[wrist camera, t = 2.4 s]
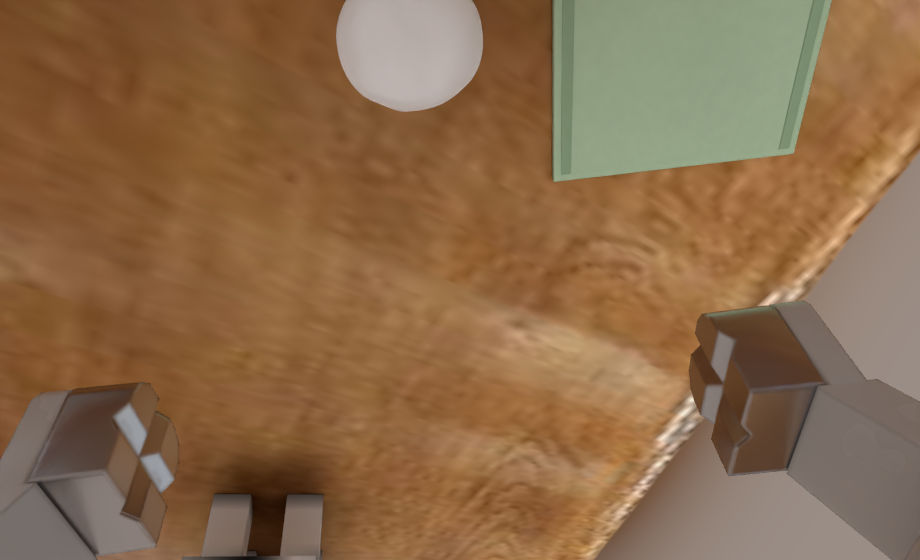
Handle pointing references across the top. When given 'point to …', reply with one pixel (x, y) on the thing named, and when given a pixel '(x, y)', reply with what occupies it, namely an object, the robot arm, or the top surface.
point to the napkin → (678, 81)
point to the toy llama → (232, 528)
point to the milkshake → (409, 49)
